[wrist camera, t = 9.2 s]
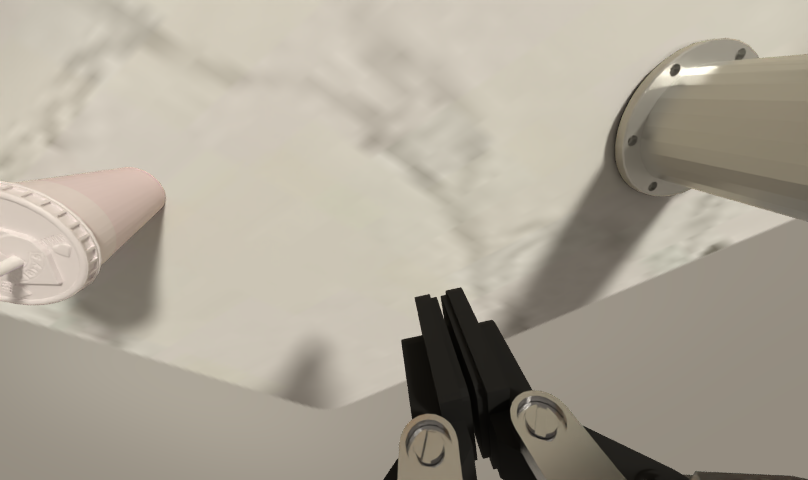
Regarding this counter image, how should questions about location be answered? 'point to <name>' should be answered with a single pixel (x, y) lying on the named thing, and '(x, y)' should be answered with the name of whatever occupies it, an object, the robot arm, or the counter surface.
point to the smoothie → (68, 229)
